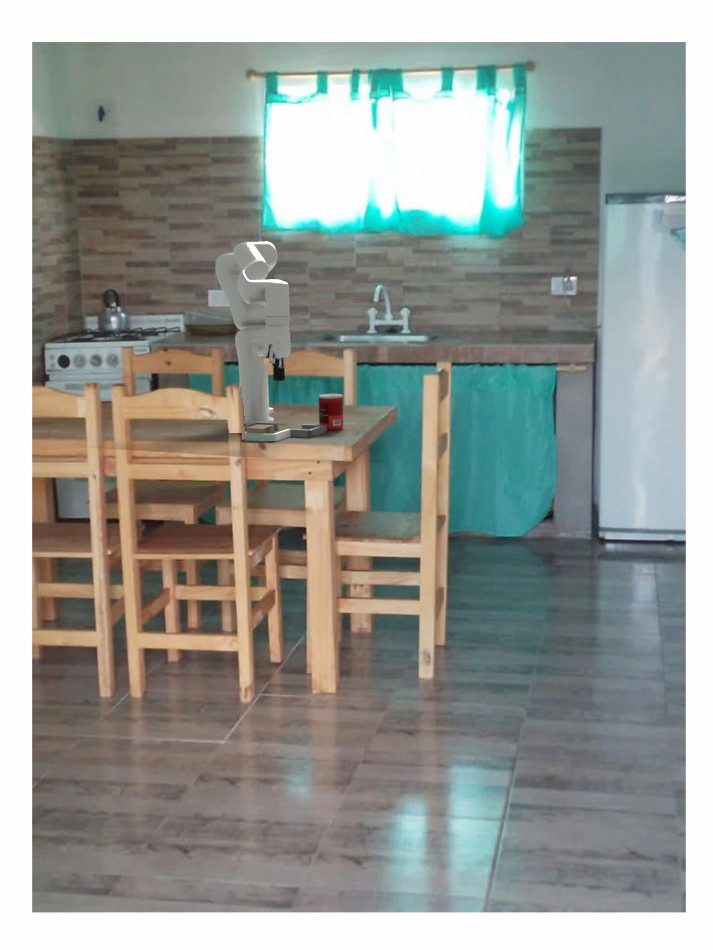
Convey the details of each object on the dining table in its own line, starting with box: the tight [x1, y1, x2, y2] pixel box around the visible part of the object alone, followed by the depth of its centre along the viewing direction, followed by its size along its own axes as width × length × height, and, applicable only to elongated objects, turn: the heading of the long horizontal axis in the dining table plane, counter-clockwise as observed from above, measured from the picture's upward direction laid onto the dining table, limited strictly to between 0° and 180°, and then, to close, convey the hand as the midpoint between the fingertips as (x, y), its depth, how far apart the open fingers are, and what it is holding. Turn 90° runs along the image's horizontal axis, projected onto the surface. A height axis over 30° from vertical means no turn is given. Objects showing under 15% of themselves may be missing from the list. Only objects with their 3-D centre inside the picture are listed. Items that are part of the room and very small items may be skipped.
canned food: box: [318, 393, 344, 432], centre depth 401 cm, size 8×8×11 cm
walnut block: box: [246, 424, 275, 434], centre depth 385 cm, size 7×6×4 cm
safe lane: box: [245, 428, 292, 442], centre depth 385 cm, size 11×11×2 cm
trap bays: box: [244, 422, 328, 438], centre depth 395 cm, size 11×25×2 cm, turn 66°
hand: (279, 380), depth 392 cm, fingers closed
